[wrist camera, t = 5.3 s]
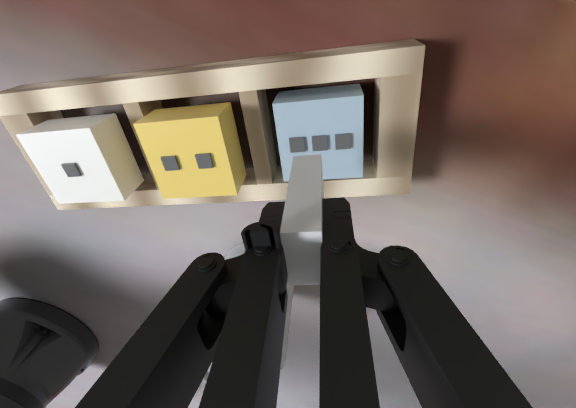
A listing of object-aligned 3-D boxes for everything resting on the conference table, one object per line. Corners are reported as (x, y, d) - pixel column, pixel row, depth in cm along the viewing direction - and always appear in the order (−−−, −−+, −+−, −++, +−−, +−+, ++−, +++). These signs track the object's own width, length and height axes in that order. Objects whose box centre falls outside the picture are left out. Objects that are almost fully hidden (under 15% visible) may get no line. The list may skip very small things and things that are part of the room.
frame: (80, 192, 30) (58, 209, 28) (19, 85, 25) (-15, 95, 22) (401, 174, 26) (409, 194, 23) (413, 38, 20) (425, 45, 18)
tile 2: (179, 178, 25) (162, 200, 23) (154, 109, 22) (131, 125, 19) (246, 174, 24) (236, 196, 22) (230, 102, 21) (216, 117, 19)
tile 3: (288, 163, 25) (283, 182, 22) (278, 91, 22) (271, 104, 19) (359, 158, 24) (363, 178, 22) (359, 83, 21) (364, 96, 19)
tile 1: (83, 184, 27) (56, 205, 24) (48, 119, 23) (12, 135, 21) (144, 180, 26) (123, 202, 23) (115, 113, 23) (87, 129, 20)
